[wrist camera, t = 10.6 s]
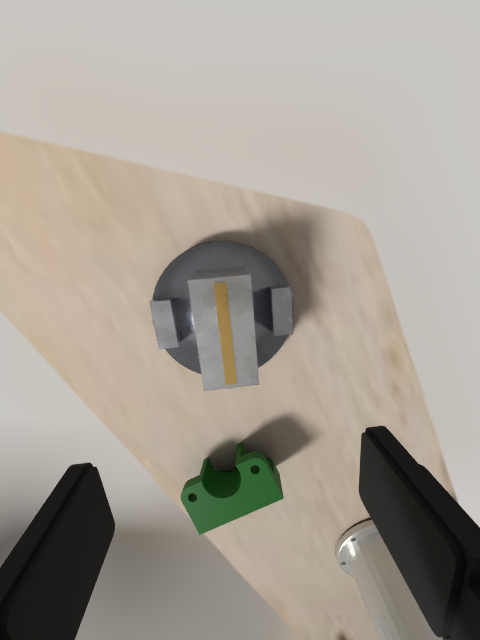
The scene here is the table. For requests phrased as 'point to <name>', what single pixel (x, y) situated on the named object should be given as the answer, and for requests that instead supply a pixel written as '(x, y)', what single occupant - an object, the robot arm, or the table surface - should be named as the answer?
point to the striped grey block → (224, 327)
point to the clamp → (231, 490)
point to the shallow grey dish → (176, 309)
